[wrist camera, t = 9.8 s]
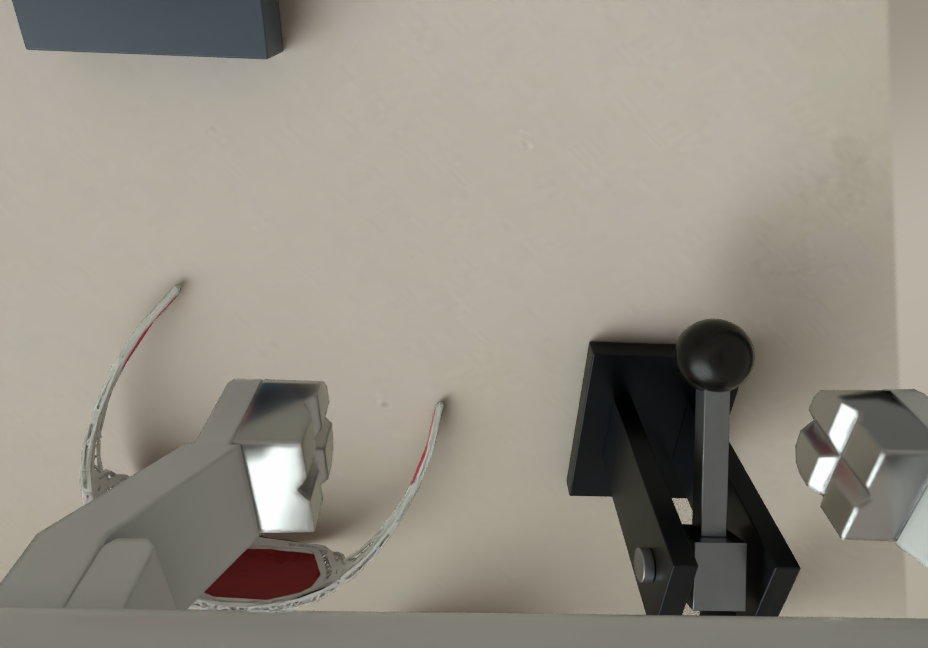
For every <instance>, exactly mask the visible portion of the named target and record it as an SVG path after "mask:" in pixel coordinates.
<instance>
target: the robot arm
mask: <svg viewBox="0 0 928 648" xmlns="http://www.w3.org/2000/svg"><path fill="white" fill-rule="evenodd" d="M328 405H329V396H328V390H327V385H326V384H325V382H323V381H296V380H269V379H265V380H262V379H233V380H231V381H230V382H228V384H227V385H226V387H225V389H224V391H223V392H222V394H221V396H220V398H219V400H218V401H217V403H216V405H215V407H214V409H213V410H212V412H211V414H210V416H209V418H208V419H207V421H206V423H205V425H204V427H203V428H202V430H201V432H200V434H199V436H198V437H197V439H196V441H195V443H194V444H183V445H182V446H180V447H178V448H177V449H175V450H173V451H172V452H170V453H169V454H167V455H165V456H164V457H162V458H160V459H159V460H157V461H156V462H154V463H152V464H151V465H149V466H147V467H146V468H144V469H142V470H141V471H139V472H138V473H136V474H134V475H133V476H131V477H129V478H128V479H126V480H124V481H123V482H121V483H120V484H118V485H116V486H115V487H113V488H111V489H110V490H108V491H107V492H105V493H103V494H102V495H100V496H98V497H97V498H95V499H93V500H92V501H90V502H89V503H87V504H85V505H84V506H82V507H80V508H79V509H77V510H76V511H74V512H72V513H71V514H69V515H67V516H66V517H64V518H62V519H61V520H59V521H58V522H56V523H54V524H53V525H51V526H49V527H48V528H46V529H44V530H43V531H41V532H40V533H38V534H36V536H35V537H34V539H33V540H32V541H31V543H30V544H29V545H28V547H27V548H26V549H25V551H24V552H23V553H22V555H21V556H20V557H19V559H18V560H17V562H16V563H15V564H14V566H13V567H12V568H11V570H10V571H9V572H8V574H7V575H6V576H5V578H4V579H3V580H2V582H1V583H0V648H928V619H917V618H845V617H772V616H692V615H607V614H522V613H440V612H358V611H276V610H194V609H188V608H189V607H190V606H191V605H192V604H193V603H194V602H195V601H196V600H197V599H198V598H199V597H200V596H201V595H202V594H203V593H204V592H205V591H206V590H207V589H208V588H209V587H210V586H211V585H212V584H213V583H214V582H215V581H216V580H217V579H218V578H219V577H220V576H221V575H222V574H223V573H224V571H225V570H226V569H227V568H228V567H229V566H230V565H231V564H232V563H233V562H234V561H235V560H236V559H237V558H238V557H239V556H240V555H241V554H242V553H243V552H244V551H245V550H246V549H247V548H248V547H249V546H250V545H251V544H252V543H253V542H254V541H255V540H256V539H257V538H258V537H259V536H260V534H259V533H288V532H314V531H315V527H316V523H317V520H318V516H319V512H320V508H321V505H322V501H323V497H322V489H321V484H323V483H324V482H325V481H326V480H328V478H329V473H330V469H331V464H332V455H333V430H332V423H331V422H330V421H329V420H328V419H327V418H326V417H325V415H326V412H327V408H328ZM809 411H810V413H811V415H812V417H813V419H814V420H813V421H812V422H811V423H809V424H808V425H807V426H805V427H804V428H803V429H802V430H801V431H800V434H799V437H798V440H797V443H796V446H795V449H796V464H797V467H798V470H799V473H800V475H801V477H802V478H803V480H804V482H805V483H806V485H807V486H808V487H810V488H811V489H813V490H814V491H816V492H817V493H819V494H820V495H822V496H823V499H822V503H821V506H820V507H821V508H822V510H823V511H824V513H825V514H826V516H827V518H828V519H829V521H830V522H831V524H832V525H833V527H834V528H835V530H836V531H837V533H838V534H839V536H840V538H841V539H847V540H871V541H896V545H898V546H899V547H900V548H901V549H903V550H904V551H905V552H907V553H908V554H909V555H910V556H912V557H913V558H914V559H916V560H917V561H919V563H921V564H922V565H924V566H925V567H926V568H927V569H928V397H927V396H926V395H925V394H924V393H922V392H919V391H917V390H915V389H883V390H820V391H819V392H818V393H817V394H816V395H815V396H814V398H813V400H812V403H811V405H810V407H809Z"/></svg>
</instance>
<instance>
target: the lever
mask: <svg viewBox="0 0 928 648" xmlns="http://www.w3.org/2000/svg"><path fill="white" fill-rule="evenodd" d="M674 359H675V364H676V367H677V370H678V372H679V374H680V375H681V377H682V378H683V379H684V380H685V381H686V382H687V383H688V384H689V385H691V386H692V387H694V388H695V389H696V404H695V442H694V480H693V518H692V525H687V524H682V526H683V528H684V531H685V533H686V536H687V538H688V541H689V543H690V546H691V548H692V551H693V553H694V556H695V558H696V561H697V563H698V569H697V572H696V575H695V578H694V581H693V584H692V587H691V590H690V593H689V596H688V599H687V602H686V603H687V604H688V605H689V606H690V608H691V609H692V610H694V611H746V575H747V543H746V542H744V541H743V540H741V539H740V538H739V537H737V536H736V535H735V534H733V533H732V532H730V531H729V530H728V529H727V494H728V455H729V416H730V391H731V390H733V389H735V388H737V387H738V386H740V385H741V384H742V383H743V382H744V381H745V380H746V379H747V378H748V377H749V375H750V373H751V371H752V369H753V366H754V360H755V353H754V348H753V345H752V342H751V340H750V338H749V337H748V335H747V334H746V333H745V332H744V331H743V330H742V329H741V328H740V327H738V326H737V325H735V324H733V323H731V322H729V321H726V320H722V319H706V320H702V321H698V322H696V323H694V324H693V325H691V326H689V327H688V328H687V329H686V330H685V331H684V332H683V333H682V334H681V336H680V337H679V339H678V341H677V343H676V347H675V352H674Z"/></svg>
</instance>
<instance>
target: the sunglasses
mask: <svg viewBox="0 0 928 648" xmlns="http://www.w3.org/2000/svg"><path fill="white" fill-rule="evenodd" d="M179 292H180V286H178V285H175V286H174V287H173V288H172V289H171V291H170V292H169V293H168V294H167V295H166V296H165V297H164V298H163V300H162V301H161V302H160V303H159V304H158V305H157V306H156V307H155V308H154V309H153V310H152V312H151V313H150V314H149V315H148V316H147V317H146V318H145V319H144V320H143V321H142V322H141V324H140V325H139V326H138V327H137V329H136V330H135V331H134V332H133V334H132V335H131V336H130V338H129V340H128V342H127V343H126V345H125V347H124V348H123V350H122V352H121V353H120V355H119V357H118V358H117V360H116V361H115V363H114V364H113V366H112V368H111V370H110V372H109V375H108V377H107V379H106V382H105V384H104V386H103V388H102V390H101V392H100V394H99V396H98V399H97V402H96V405H95V408H94V411H93V413H92V416H91V419H90V423H89V426H88V429H87V433H86V436H85V439H84V442H83V449H82V458H81V467H80V486H81V491H82V500H83V505H85V504H87V503H89V502H90V501H92V500H93V499H95V498H97V497H98V496H100V495H102V494H103V493H105V492H107V490H110V488H113V487H115V486H116V485H118V484H120V482H123V481H124V480H126V479H128V478H129V476H128V475H123V474H115V473H114V472H112V471H110V470H107V469H106V470H104V471H103V467H102V462H101V457H100V438H101V431H102V427H103V423H104V419H105V414H106V410H107V406H108V402H109V398H110V396H111V393H112V390H113V388H114V386H115V384H116V382H117V380H118V378H119V376H120V375H121V373H122V371H123V369H124V367H125V365H126V363H127V361H128V360H129V358H130V357H131V355H132V354H133V352H134V351H135V349H136V348H137V346H138V344H139V343H140V341H141V340H142V338H143V337H144V335H145V334H146V332H147V331H148V329H149V328H150V326H151V325H152V323H153V322H154V320H155V319H156V318H157V317H158V316H159V315H160V314H161V313H162V312H163V311H164V310H165V309H166V308H167V307H168V305H169V304H170V303H171V302H172V301H173V300H174V299H175V298H176V296H177V295H178V293H179ZM443 406H444V405H443V403H442V402H439V403H438V404H437V405H436V407H435V409H434V412H433V416H432V421H431V427H430V432H429V437H428V441H427V444H426V447H425V450H424V453H423V455H422V458H421V460H420V463H419V465H418V468H417V470H416V473H415V475H414V477H413V479H412V481H411V483H410V485H409V488H408V490H407V492H406V494H405V496H404V498H403V500H402V501H401V502H400V504H399V505H398V507H397V508H396V509H395V511H394V512H393V513H392V515H391V516H390V517H389V519H388V520H387V521H386V522H385V524H384V525H383V526H382V527H381V529H380V530H379V531H378V533H377V534H376V535H375V536H373V537H372V539H370V540H369V541H368V542H367V543H366V544H365V545H364V546H363V547H361V548H360V549H359V550H358V551H356V552H355V553H353V554H351V555H350V556H348V557H347V558H345V556H344V554H342V553H339V552H333V551H331V550H330V549H329V548H327V547H326V546H323V545H318V544H310V543H301V542H292V541H284V540H277V539H269V538H262V537H258V538H257V539H256V540H255V541H254V542H253V543H252V544H251V545H250V546H249V547H248V548H247V549H246V550H245V551H244V552H243V553H242V554H241V555H240V556H239V557H238V558H237V559H236V560H235V561H234V562H233V563H232V564H231V565H230V566H229V567H228V568H227V569H226V570H225V571H224V573H223V574H222V575H221V576H220V577H219V578H218V579H217V580H216V581H215V582H214V583H213V584H212V585H211V586H210V587H209V588H208V589H207V590H206V591H205V592H204V593H203V594H202V595H201V596H200V597H199V598H198V599H197V600H196V601H195V602H194V604H192V605H191V607H195V608H200V609H205V610H269V609H270V610H276V611H287V610H292V609H295V608H298V607H301V606H304V605H307V604H310V603H313V602H316V601H318V600H320V599H322V598H324V597H326V596H328V595H330V594H331V593H333V592H335V591H336V590H337V589H339V588H340V587H341V586H342V585H343V584H345V583H346V582H349V581H350V580H352V579H353V578H354V577H355V576H356V575H357V574H358V573H359V572H360V571H361V570H362V569H363V568H364V567H365V566H366V565H367V564H368V563H369V562H370V561H371V560H372V559H373V558H374V557H375V556H376V555H377V554H378V553H379V552H380V551H381V549H382V548H383V547H384V545H385V544H386V542H387V541H388V539H389V538H390V536H391V535H392V533H393V532H394V530H395V529H396V527H397V526H398V525H399V523H400V521H401V519H402V518H403V516H404V514H405V512H406V510H407V509H408V507H409V505H410V503H411V501H412V499H413V497H414V496H415V494H416V492H417V491H418V489H419V486H420V484H421V481H422V479H423V476H424V474H425V471H426V469H427V466H428V464H429V461H430V459H431V456H432V454H433V450H434V446H435V442H436V438H437V434H438V429H439V425H440V420H441V415H442V411H443ZM96 442H97V444H96ZM96 446H97V456H95V447H96ZM95 458H97V464H98V466H96V465H94V460H95ZM95 468H96V469H97V470H95ZM108 476H109V477H108ZM371 543H372V544H371ZM370 544H371V545H370ZM367 546H369V547H368V548H367V549H366V550H365V551H364V552H362V551H363V550H364V549H365V548H366V547H367ZM359 553H361V554H360V555H359V556H358V557H357V558H353V557H355V556H356V555H357V554H359ZM324 555H326V556H325V557H323V556H324ZM326 557H327V558H326ZM336 557H338V558H337V559H336ZM351 560H353V561H351ZM325 561H326V564H325V563H324V562H325ZM327 564H329V565H327ZM329 567H330V568H329ZM328 568H329V569H328ZM326 569H327V570H326ZM315 598H316V599H315ZM300 603H302V604H300ZM294 605H295V606H294ZM285 607H287V608H285ZM277 608H280V609H277Z"/></svg>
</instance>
